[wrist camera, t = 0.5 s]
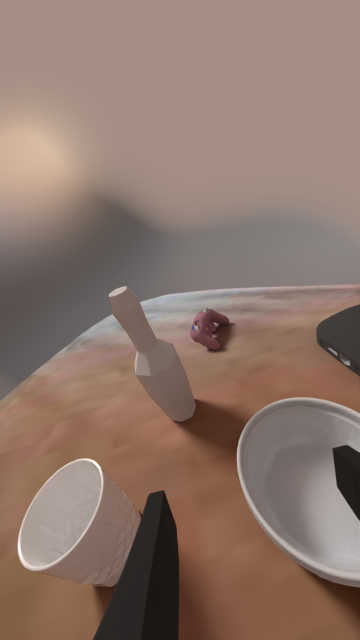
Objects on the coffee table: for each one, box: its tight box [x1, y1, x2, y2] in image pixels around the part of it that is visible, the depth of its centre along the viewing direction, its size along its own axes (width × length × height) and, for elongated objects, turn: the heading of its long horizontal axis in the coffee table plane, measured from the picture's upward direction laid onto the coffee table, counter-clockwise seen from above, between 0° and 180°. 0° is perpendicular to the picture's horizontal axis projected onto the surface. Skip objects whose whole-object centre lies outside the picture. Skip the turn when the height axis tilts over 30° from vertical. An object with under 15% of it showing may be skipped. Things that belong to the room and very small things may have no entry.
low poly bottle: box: [109, 286, 196, 422], centre depth 31 cm, size 6×6×22 cm
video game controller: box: [190, 309, 229, 350], centre depth 48 cm, size 10×5×7 cm, turn 157°
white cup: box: [18, 459, 141, 587], centre depth 22 cm, size 8×8×10 cm
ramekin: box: [237, 397, 360, 587], centre depth 20 cm, size 13×13×7 cm
